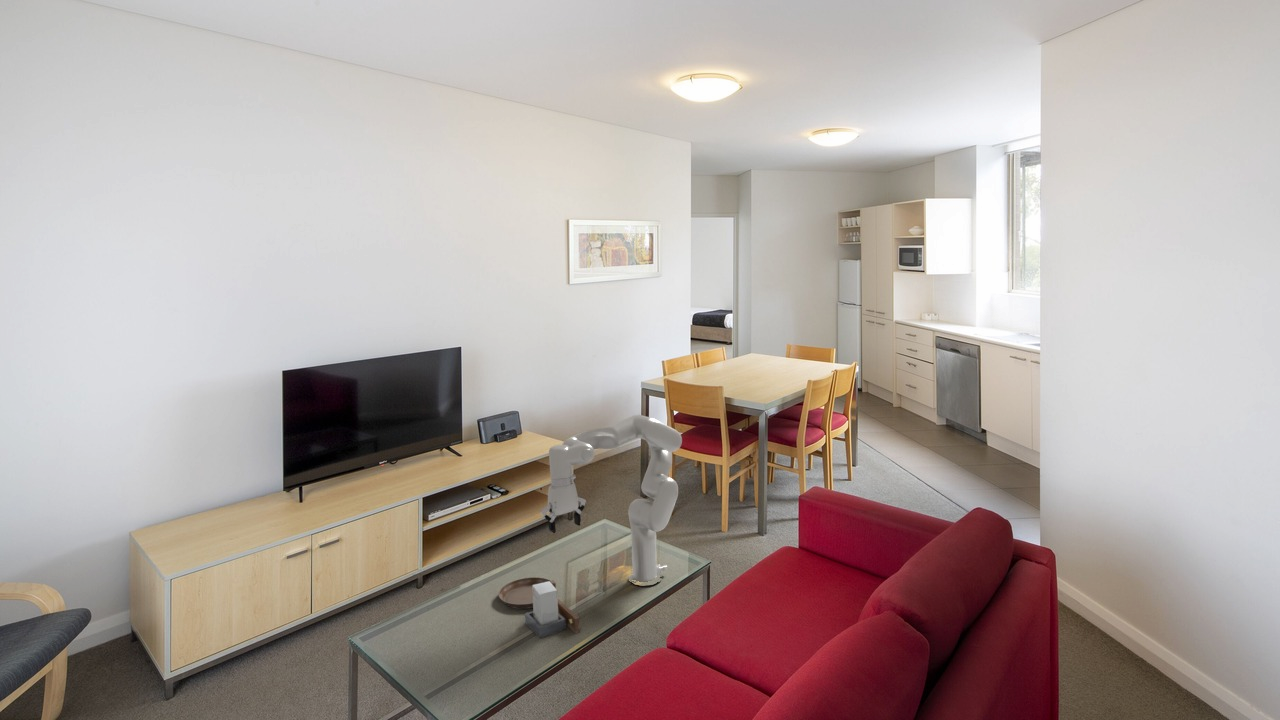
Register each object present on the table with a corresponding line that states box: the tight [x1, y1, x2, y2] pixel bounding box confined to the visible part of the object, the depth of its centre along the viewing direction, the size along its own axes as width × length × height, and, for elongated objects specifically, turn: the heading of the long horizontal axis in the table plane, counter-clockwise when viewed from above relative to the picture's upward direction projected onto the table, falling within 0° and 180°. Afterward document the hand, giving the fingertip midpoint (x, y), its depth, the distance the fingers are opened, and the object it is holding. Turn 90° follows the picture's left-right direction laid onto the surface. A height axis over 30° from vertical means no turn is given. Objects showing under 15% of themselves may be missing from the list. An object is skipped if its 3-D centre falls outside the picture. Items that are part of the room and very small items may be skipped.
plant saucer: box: [498, 576, 551, 610], centre depth 234 cm, size 21×21×3 cm
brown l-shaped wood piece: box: [550, 580, 581, 634], centre depth 216 cm, size 3×20×10 cm, turn 33°
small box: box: [532, 580, 559, 626], centre depth 213 cm, size 8×6×13 cm
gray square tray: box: [524, 610, 567, 639], centre depth 213 cm, size 10×12×4 cm
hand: (565, 528), depth 223 cm, fingers open, 9 cm apart
